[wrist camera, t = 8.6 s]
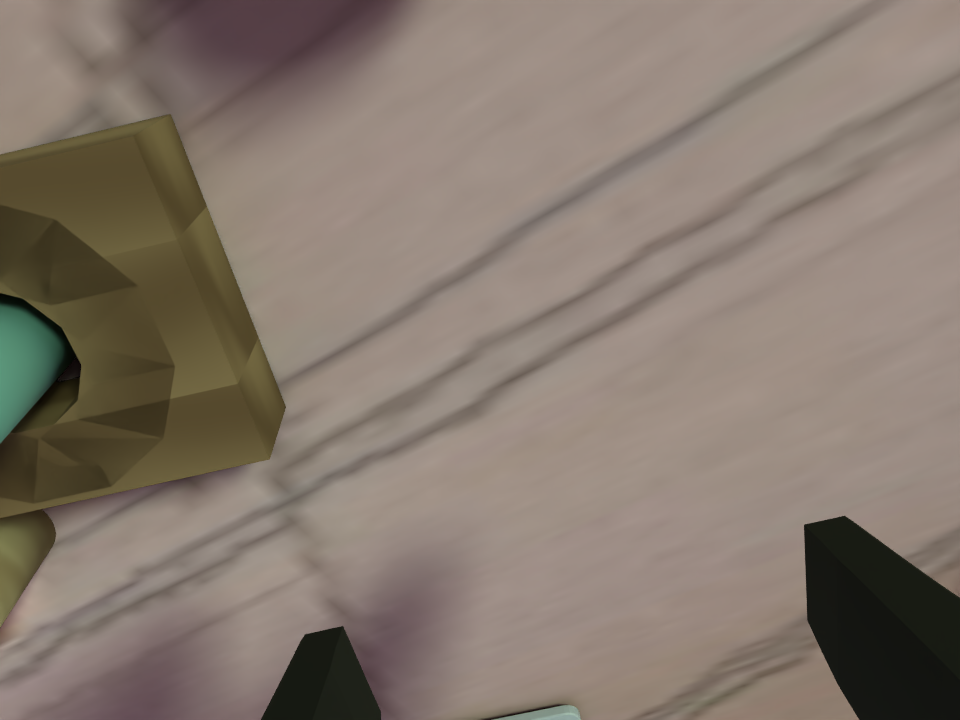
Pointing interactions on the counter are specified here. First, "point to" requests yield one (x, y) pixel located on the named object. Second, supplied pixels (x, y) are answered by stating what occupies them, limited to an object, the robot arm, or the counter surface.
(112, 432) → the board
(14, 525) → the short dowel
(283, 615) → the counter surface
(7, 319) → the long dowel
